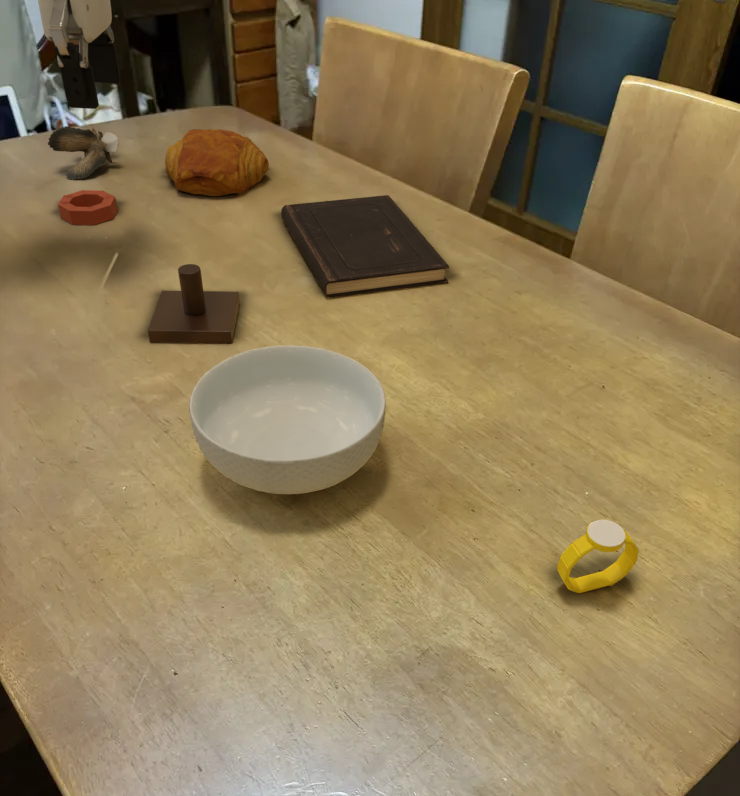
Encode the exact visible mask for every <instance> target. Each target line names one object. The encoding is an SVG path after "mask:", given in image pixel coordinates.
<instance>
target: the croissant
mask: <svg viewBox="0 0 740 796" xmlns="http://www.w3.org/2000/svg"><path fill="white" fill-rule="evenodd" d="M165 153H166V154H165V159H164V163H165V164H164V166H165V170H166V171H165V172H166V175H167V178H169V179H170V180H172V181H173V182H174V186H175V189H176V190H177V191H181V192H185V193H187V194H191V195H202V196H209V197H222V196H223V197H224V196H226V195H231V194H232V195H240V194H244V193H245V192H247V193H248V192H249V189H250V188H253V187H254V186H255V185H256V184H257V183H260V181H261V180H262V179H263V178H264V175H265V174H266V173H267V172H268V171H269V166H270V163H269V160H268V158H267V156H266V155H265V153H264V152H263V151H262V150H261V149H260V148H259V147H258V146H257V145H256V143H254V142H253V141H252V139H251V138H249V137H248V136H244V135H242V134H240V133H237V132H235V131H232V130H227V129H212V128H211V129H209V128H208V129H201V128H198V129H189V130H188V131H186V132H185V133H184V135H183V136H182V138H181V139H180V140H178V141H177V142H175V143H174V144H173V145H169V147H167V150H166V152H165Z"/></svg>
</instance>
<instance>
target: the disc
mask: <svg viewBox="0 0 740 796" xmlns="http://www.w3.org/2000/svg"><path fill="white" fill-rule="evenodd" d="M57 207H58V210H59V215H60V218H61V219H62V220H64V221H65V222H67V223H68V224H71V225H74V226H96V225H99V224H103V223H104V222H107V221H111V220H114V218H115V217H116V215H117V212H118V211H119V210H118V204H117V200H116V196H115V195H113V194H110V193H109V192H107V191H105V190H95V189H94V190H92V189H91V190H90V189H87V190H86V189H81V190H79V191H75V192H72V193H68V194H65V195H63V196H61V198H60V200H59V201H58V203H57Z"/></svg>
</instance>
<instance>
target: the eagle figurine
mask: <svg viewBox="0 0 740 796" xmlns="http://www.w3.org/2000/svg"><path fill="white" fill-rule="evenodd" d="M49 136H50V137H48V142H47V146H49V148H50V149H52V151H54V152H66V153H75V152H82V153H83V155H82V157H81V159H80V160H78V162H76V163H75V165H74V166H73V167H71V168H70V169H69V170H67V171H66V172H65V177H66V178H65V179H68V180H82V179H86V178H87V177H90V176H91V175H92V174H94V172H95V171H96V170H97V169H98V168H99V167H101V166H103V165H105V164H106V162H108V163H111V164H112V163H113V159H112V157H111V154H116V153H117V151H118V149H119V146H120V142H119V138H118V136H117V135H116V134H114V133H113V132H110V131H106V132H104V134H103V132H102V131H100V130H98V131H97V130H96V129H95V128H94V127H91V129H90V128H87V129H83V128H75V127H71V126H70V125H67V126H66V125H65V126H64V127H63V126H62V127H59V128H58V129H55V130H54V131H52V133H51V134H50V135H49Z"/></svg>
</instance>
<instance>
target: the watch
mask: <svg viewBox="0 0 740 796" xmlns="http://www.w3.org/2000/svg"><path fill="white" fill-rule="evenodd" d="M624 544H625V545H624ZM623 546H624V550H623V551H622V553H621V554H620V555H619V556H618V558H617V560H616V561H614V562H613V563H612V564H611V565H609V566H608V567H606V568H605V569H603V570H602V571H598V572H593V573H590V574H589V573H588V574H586V575H582V576H578V577H572V576H570V575H571V572H572V569H573V568H574V567H575V566H576V564H578V562H579V561H580V560H581V559H582V558H583V557H584V556H586V555H588V554H589V553H590V552H592V551H594V550H597V551H599V552H602V553H615V552H617V551H619V550H621V548H622V547H623ZM639 552H640V550H639V547H638V546H637V544H636V543H635V541H634V540H633V539H632V537H631V536H630V534H629V533H628V532H627V530H625V529H624V528H623V527H621V525H620V524H618V523H616V522H615V521H611V520H609V519H597V520H594V521H591V522H590V523H589V524H587V527H586V530H585V534H583V535H582V536H580V537H578V538H576V539H575V540H574V541H572V542H571V543H570V544H569V545H568V546H567V547H566V548H565V549H564V551H563V552H562V553H561V555H560V557H559V560H558V563H557V566H556V570H557V572H558V574H559V576H560V578H561V580H562V581H563V583H564V585H565V587H566V589H568V590H569V591H571V592H574V593H576V594H582V593H585V592H586V593H587V592H589V591H593V590H597V589H600V588H604V587H605V588H606V587H612V586H614V585H615V584H617V583H618V582H619V581H620V580H622V579H623V578H625V577H626V576H627V575H629V573H630V572H631V570H632V569H633V567H634V566H635V565H636V564H637V561H638V556H639Z"/></svg>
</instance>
